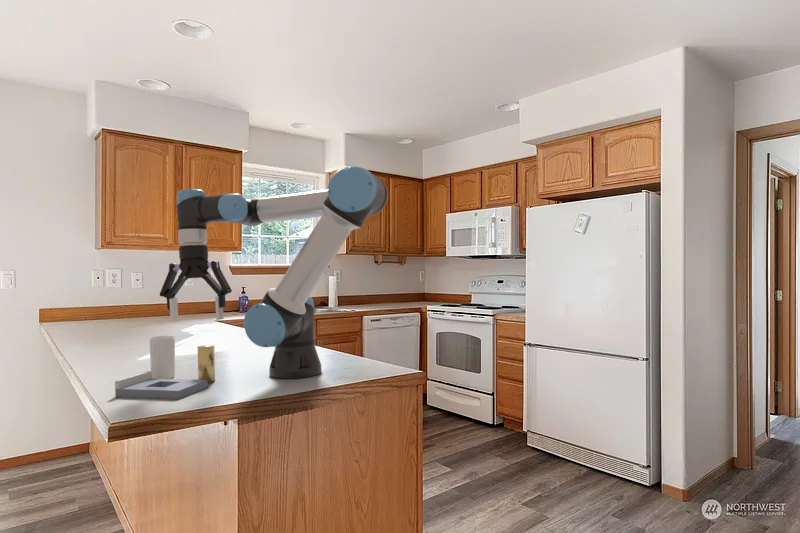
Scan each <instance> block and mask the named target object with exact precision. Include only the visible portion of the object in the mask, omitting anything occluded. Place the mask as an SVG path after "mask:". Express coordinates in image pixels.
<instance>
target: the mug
mask: <svg viewBox="0 0 800 533" xmlns="http://www.w3.org/2000/svg"><path fill="white" fill-rule="evenodd" d="M175 340H176V339H175V335H157V336H152V337H151V336H150V337H149V357H150V371H152V378H156V379H174V378H175V377H176V371H175V370H176V364H175V363H176V360H175V359H176V353H175V352H176V351H175V349H176V348H175V347H176V341H175Z"/></svg>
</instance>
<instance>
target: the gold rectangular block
mask: <svg viewBox="0 0 800 533" xmlns="http://www.w3.org/2000/svg"><path fill="white" fill-rule="evenodd" d="M215 356H216V355H215V344H214V345H213V344H206V345H204V344H203V345H198V346H197V376H198V377H197V378H198V379H197V380H207V384H212V383H215V382H216V365H215V364H216V363H215V361H216V360H215Z"/></svg>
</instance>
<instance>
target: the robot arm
mask: <svg viewBox="0 0 800 533" xmlns="http://www.w3.org/2000/svg"><path fill="white" fill-rule="evenodd" d="M243 196H244V195H242V194H241V193H224V194H215V195H214V194H213V195H206V192H205V191H204V190H202V189H196V188H190V189H189V188H188V189H187V188H186V189H180V190H178V191H177V194H176V205H175V207H176V214H177V223H178V225H177V231H178V232H177V233H178V235H177V236H178V238H177V240H178V244H179V245H180V246H179V247H178V257H179V261H180V262H179V263H177V262H176V263H175V262H174V263H169V265H168V266H169V267H168V271H167V272H168V273H167V275H166V277H165V280H164V282H163V285H162V287H161V290H160V292H159V296H160V297H164V298H166V307H167V310H168V311H169V316H170V318H169V319H170V322H171V323H172V322H178V321H179V307H178V297H176V296H177V295H178V293H179V292H180V290H181V288H182V287H183V285H184V284H185V283H186V282H187V280H189V279H198V278H199V279H200V278H201V279H202V280H204V282H206V283H207V285H208V286H209V287H210V288H211V289H212V291H214V293H216V295H217V296H215V297H214V301H215V318H216V319H215V320H216V321H220V320H224V308H226V304H227V303H226V296H227V295H229V294H232V291H233V290H232V288H231V286H230V285H229V282H228V280H227V279H226V277H225V275H224V273H223V271H222V270H221V266H220V262H219V261H218V260H212V261H210V262H209V260H208V259H209V247H208V246H207V245H206V244H207V243H208V232H207V226H208V225H207V224H211V223H229V224H237V225H238V224H239V225H244V226H247V227H254V226H260V225H261V224H267V223H274V222H284V221H292V220H302V219H311V218H319V220H317V221H318V222H317V223H316V225H315V226H314V228H313V229H312V231H311V232H310V234H309V235H308V237H307V239H306V240H305V241H304V244H303V245H302V247H301V248H300V250H299V252H298V253H297V255H296V256H295V258H294V259H293V261H292V262H291V264H290V266H289V267H288V269H287V270H286V272H285V273H284V275H283V277H282V278H281V280H280V281H279V283H278V285H277V286H276V287H271V288H268V289H267V291H266V293H265V294H264V296H263V297H262V299H261V301H259V303H256V304H254V305H253V306H252V307H249V309H248V310H247V312H246V313H245V315H244V318H243V327H244V330H245V332H244V333H245V335H246V336H247V338H248V339H249V340H250V342H251V343H253V344H255V345H256V346H258V347H261V348H273V347H274V350H273V354H272V358H271V361H270V364H269V372H268V373H269V376H270V377H272V378H275V379H302V378H308V377H314V376H317V375H319V374H321V373H322V364H321V363H322V362H321V360H320V358H319V355H318V352H317V349H316V344H315V343H316V340H315V338H316V335H315V310H316V309H315V305H314V304H315V303H314V299H313V297H312V296H311V294H312V293H313V291H314V289H316V286H317V285H318V283H319V282H320V280H321V279H322V277H323V276H324V274H325V273H326V271H327V269H328V268H329V267H330V265H331V263H332V262H333V261H334V259H335V257H336V256H337V254H338V253H339V251H340V249H341V248H342V246H343V245H344V243H345V242H346V240H347V239H348V237H349V236H350V234H351V233H352V231H354V230H356V229H357V230H358V229H361V228H362V226H363V224H364V223H365V222H366V220H367V218H368V217H372V216H376V215H378V214H379V213H381V212H382V211H383V210H384V209H385V207H386V205H387V203H388V200H389V193H388V188H387V185H386V183H385V182H384V181H383V180H382V179H381V178H380V177H379V176H377V175H375V174H373V173H372V172H371V171H370V170H367V168H364V167H361V166H355V165H350V166H344V167H342V168H341V169H340V168H339V169H338V170H337V171H336V172H334V173H333V175H332V176H331V178H330V179H329V182H328V185H327V189H320V190H312V191H305V192H298V193H297V192H296V193H290V194H282V195H273V196H266V197H257V198H252V199H246V198H245V197H243ZM208 269H211V270H212V273H213V275H214V276H215V278H213V277H212V274H211V273H210V272H209V271H208ZM179 270H180V271H181V272H180V274H179V275H178V276H177V274H178V271H179ZM176 277H178V278H177V279H176ZM215 279H216V280H217V281H216V280H215Z"/></svg>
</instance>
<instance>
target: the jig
mask: <svg viewBox="0 0 800 533" xmlns="http://www.w3.org/2000/svg"><path fill="white" fill-rule="evenodd" d="M114 388H115V397H116V398H136V399H137V398H142V399H144V398H145V399H169V400H171V399H172V400H173V399H174V400H180V399H182V398H184V397H187V396H189V395H190V396H191V395H192V394H194V392H195V393H196V392H199V391H202V390H204V389H206V388H208V383H207V380H198V379H192V378H189V379H187V378H170V379H156V378H152V371H151V370H147V371H143V372H141V373H136V374H134V375H130V376H127V377H124V378H121V379H117V380H115V381H114Z"/></svg>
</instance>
